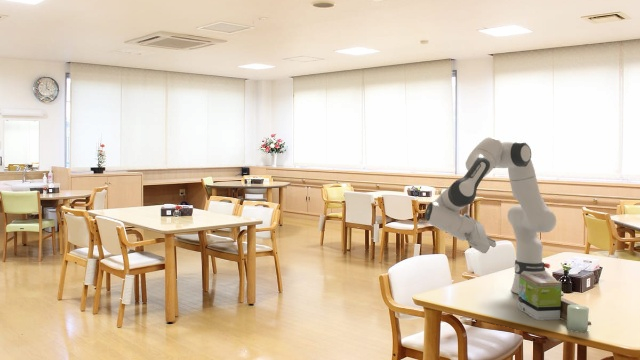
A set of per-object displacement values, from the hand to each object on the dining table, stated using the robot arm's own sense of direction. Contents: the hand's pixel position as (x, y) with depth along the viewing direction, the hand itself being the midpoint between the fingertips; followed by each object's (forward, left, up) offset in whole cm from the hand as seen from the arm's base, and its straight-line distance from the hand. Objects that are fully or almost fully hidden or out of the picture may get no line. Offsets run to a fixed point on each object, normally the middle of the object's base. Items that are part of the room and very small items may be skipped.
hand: (494, 244), depth 228 cm
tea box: (-17, +5, -27) cm, 33 cm away
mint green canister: (-20, +24, -27) cm, 41 cm away
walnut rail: (-26, +8, -27) cm, 38 cm away
